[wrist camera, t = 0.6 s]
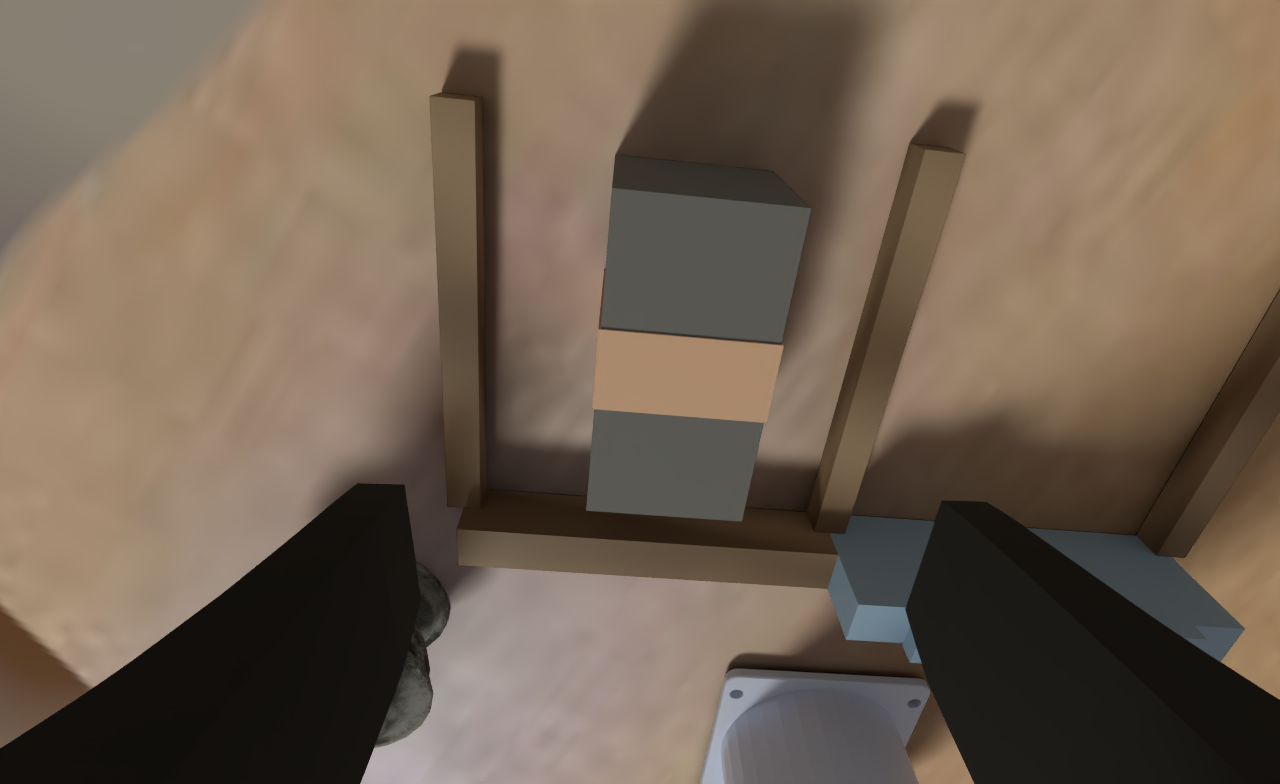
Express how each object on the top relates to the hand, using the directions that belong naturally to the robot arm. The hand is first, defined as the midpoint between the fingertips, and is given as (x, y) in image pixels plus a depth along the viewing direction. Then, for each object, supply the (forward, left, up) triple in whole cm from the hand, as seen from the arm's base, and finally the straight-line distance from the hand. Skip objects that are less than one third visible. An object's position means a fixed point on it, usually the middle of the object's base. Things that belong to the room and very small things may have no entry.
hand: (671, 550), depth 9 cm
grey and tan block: (-1, -1, -10) cm, 10 cm away
